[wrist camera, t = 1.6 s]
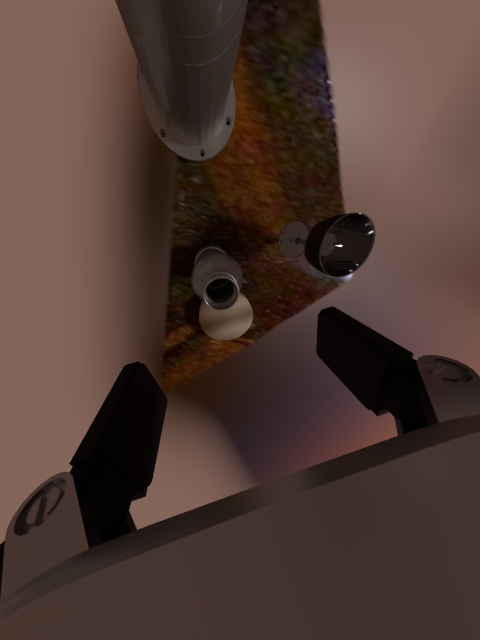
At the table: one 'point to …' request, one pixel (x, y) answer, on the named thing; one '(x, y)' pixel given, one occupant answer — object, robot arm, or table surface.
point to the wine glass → (331, 243)
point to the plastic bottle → (216, 277)
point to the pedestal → (226, 319)
